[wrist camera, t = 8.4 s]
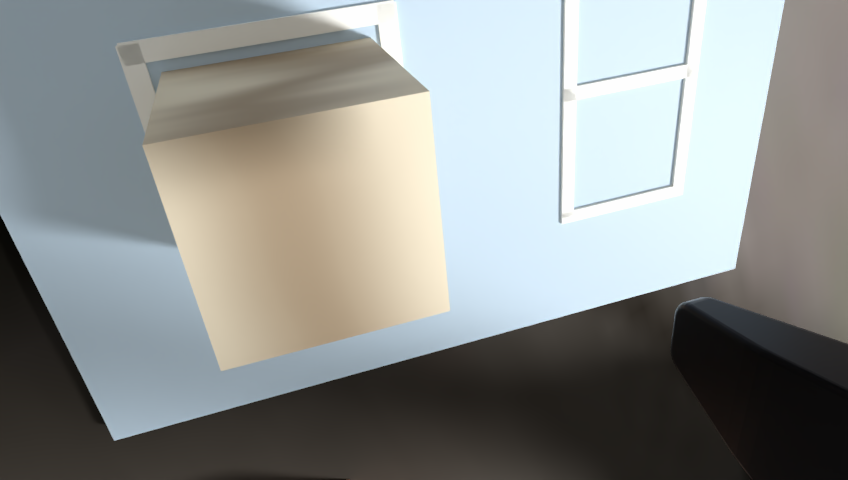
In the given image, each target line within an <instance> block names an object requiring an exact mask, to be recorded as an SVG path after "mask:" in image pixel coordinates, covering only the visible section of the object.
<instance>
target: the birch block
mask: <svg viewBox="0 0 848 480" xmlns="http://www.w3.org/2000/svg"><path fill="white" fill-rule="evenodd" d="M142 146H143V149H144V152H145V155H146V157H147V160H148V163H149V166H150V169H151V172H152V175H153V178H154V180H155V183H156V186H157V189H158V192H159V195H160V198H161V201H162V203H163V206H164V209H165V212H166V215H167V218H168V221H169V223H170V226H171V229H172V232H173V235H174V238H175V241H176V244H177V246H178V249H179V252H180V255H181V258H182V261H183V264H184V267H185V269H186V272H187V275H188V278H189V281H190V284H191V287H192V289H193V292H194V295H195V298H196V301H197V304H198V307H199V310H200V312H201V315H202V318H203V321H204V324H205V327H206V330H207V333H208V335H209V338H210V341H211V344H212V347H213V350H214V353H215V355H216V358H217V361H218V364H219V367H220V370H221V371H224V370H228V369H232V368H236V367H240V366H243V365H247V364H251V363H255V362H259V361H262V360H266V359H270V358H274V357H278V356H281V355H285V354H289V353H293V352H296V351H300V350H304V349H308V348H312V347H315V346H319V345H323V344H327V343H331V342H334V341H338V340H342V339H346V338H350V337H353V336H357V335H361V334H365V333H369V332H372V331H376V330H380V329H384V328H388V327H391V326H395V325H399V324H403V323H406V322H410V321H414V320H418V319H422V318H425V317H429V316H433V315H437V314H441V313H444V312H448V311H450V303H449V293H448V282H447V271H446V261H445V250H444V239H443V229H442V218H441V208H440V197H439V186H438V176H437V165H436V154H435V144H434V133H433V123H432V112H431V101H430V91H429V90H428V89H427V88H425V87H424V86H423V85H422V84H421V83H420V82H419V81H418V80H417V79H416V78H414V77H413V76H412V75H411V74H410V73H409V72H408V71H407V70H406V69H405V68H403V67H402V66H401V65H400V64H399V63H398V62H397V61H396V60H395V59H394V58H393V57H391V56H390V55H389V54H388V53H387V52H386V51H385V50H384V49H383V48H382V47H380V46H379V45H378V44H377V43H376V42H375V41H374V40H373V39H372V38H371V37H369V38H363V39H357V40H351V41H345V42H339V43H333V44H327V45H321V46H315V47H310V48H304V49H298V50H292V51H286V52H280V53H274V54H268V55H262V56H256V57H250V58H244V59H238V60H232V61H226V62H220V63H214V64H208V65H202V66H196V67H190V68H184V69H178V70H172V71H166V72H161V76H160V80H159V84H158V87H157V91H156V95H155V99H154V103H153V106H152V110H151V114H150V118H149V122H148V125H147V129H146V133H145V137H144V141H143V144H142Z"/></svg>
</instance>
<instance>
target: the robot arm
mask: <svg viewBox="0 0 848 480" xmlns="http://www.w3.org/2000/svg"><path fill="white" fill-rule="evenodd" d="M671 356H672V359H673V362H674V364H675V366H676V368H677V369H678V371H679V372H680V374H681V376H682V377H683V379H684V380H685V382H686V383H687V385H688V386H689V388H690V390H691V391H692V393H693V394H694V396H695V397H696V399H697V400H698V402H699V404H700V405H701V407H702V408H703V410H704V411H705V413H706V414H707V416H708V418H709V419H710V421H711V422H712V424H713V425H714V427H715V428H716V430H717V431H718V433H719V435H720V436H721V438H722V439H723V441H724V442H725V444H726V445H727V447H728V448H729V450H730V451H731V452H732V454H733V455H734V457H735V458H736V460H737V461H738V462H739V463H740V465H741V466H742V467H743V469H744V470H745V471H746V473H747V474H748V475H749V477H750V478H751V479H752V480H848V344H847V343H844V342H841V341H838V340H835V339H832V338H829V337H826V336H823V335H820V334H817V333H814V332H811V331H808V330H805V329H802V328H799V327H796V326H793V325H790V324H787V323H784V322H781V321H779V320H776V319H773V318H770V317H767V316H764V315H761V314H758V313H755V312H752V311H749V310H746V309H743V308H740V307H737V306H734V305H731V304H728V303H725V302H722V301H719V300H716V299H713V298H710V297H701V298H698V299H694V300H691V301H687V302H684V303H682V304H680V305H679V306H678V308H677V309H676V312H675V319H674V326H673V333H672V341H671Z"/></svg>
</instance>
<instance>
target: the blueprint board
mask: <svg viewBox="0 0 848 480" xmlns="http://www.w3.org/2000/svg"><path fill="white" fill-rule="evenodd" d="M784 1H785V0H0V215H1V217H2V219H3V221H4V223H5V225H6V227H7V229H8V231H9V233H10V235H11V237H12V239H13V241H14V243H15V245H16V247H17V249H18V251H19V253H20V255H21V257H22V259H23V261H24V263H25V265H26V267H27V269H28V271H29V273H30V275H31V277H32V279H33V281H34V283H35V285H36V287H37V289H38V291H39V293H40V295H41V297H42V299H43V301H44V303H45V305H46V306H47V308H48V310H49V312H50V314H51V316H52V318H53V320H54V322H55V324H56V326H57V328H58V330H59V332H60V334H61V336H62V338H63V340H64V342H65V344H66V346H67V348H68V350H69V352H70V354H71V356H72V358H73V360H74V362H75V364H76V366H77V368H78V370H79V372H80V374H81V376H82V378H83V380H84V382H85V384H86V386H87V388H88V390H89V392H90V394H91V396H92V398H93V400H94V402H95V404H96V406H97V407H98V409H99V411H100V413H101V415H102V417H103V419H104V421H105V423H106V425H107V427H108V429H109V431H110V433H111V435H112V437H113V439H114V441H115V440H119V439H122V438H126V437H130V436H133V435H137V434H140V433H144V432H148V431H151V430H155V429H158V428H162V427H166V426H169V425H173V424H176V423H180V422H184V421H187V420H191V419H195V418H198V417H202V416H205V415H209V414H213V413H216V412H220V411H223V410H227V409H231V408H234V407H238V406H241V405H245V404H249V403H252V402H256V401H259V400H263V399H267V398H270V397H274V396H277V395H281V394H285V393H288V392H292V391H295V390H299V389H303V388H306V387H310V386H313V385H317V384H321V383H324V382H328V381H331V380H335V379H339V378H342V377H346V376H349V375H353V374H357V373H360V372H364V371H367V370H371V369H375V368H378V367H382V366H386V365H389V364H393V363H396V362H400V361H404V360H407V359H411V358H414V357H418V356H422V355H425V354H429V353H432V352H436V351H440V350H443V349H447V348H450V347H454V346H458V345H461V344H465V343H468V342H472V341H476V340H479V339H483V338H486V337H490V336H494V335H497V334H501V333H504V332H508V331H512V330H515V329H519V328H522V327H526V326H530V325H533V324H537V323H540V322H544V321H548V320H551V319H555V318H559V317H562V316H566V315H569V314H573V313H577V312H580V311H584V310H587V309H591V308H595V307H598V306H602V305H605V304H609V303H613V302H616V301H620V300H623V299H627V298H631V297H634V296H638V295H641V294H645V293H649V292H652V291H656V290H659V289H663V288H667V287H670V286H674V285H677V284H681V283H685V282H688V281H692V280H695V279H699V278H703V277H706V276H710V275H713V274H717V273H721V272H724V271H728V270H731V269H735V266H736V260H737V255H738V249H739V244H740V239H741V233H742V228H743V222H744V217H745V212H746V206H747V201H748V195H749V190H750V185H751V179H752V174H753V168H754V163H755V158H756V152H757V147H758V142H759V136H760V131H761V125H762V120H763V115H764V109H765V104H766V98H767V93H768V88H769V82H770V77H771V71H772V66H773V61H774V55H775V50H776V44H777V39H778V34H779V28H780V23H781V17H782V12H783V7H784ZM369 37H371V38H372V39H373V40H374V41H375V42H376V43H377V44H378V45H379V46H380V47H382V48H383V49H384V50H385V51H386V52H387V53H388V54H389V55H390V56H391V57H393V58H394V59H395V60H396V61H397V62H398V63H399V64H400V65H401V66H402V67H403V68H405V69H406V70H407V71H408V72H409V73H410V74H411V75H412V76H413V77H414V78H416V79H417V80H418V81H419V82H420V83H421V84H422V85H423V86H424V87H425V88H427V89H428V90H429V91H430V101H431V112H432V123H433V133H434V144H435V154H436V165H437V176H438V186H439V197H440V208H441V218H442V229H443V239H444V250H445V261H446V271H447V282H448V293H449V303H450V311H448V312H444V313H441V314H437V315H433V316H429V317H425V318H422V319H418V320H414V321H410V322H406V323H403V324H399V325H395V326H391V327H388V328H384V329H380V330H376V331H372V332H369V333H365V334H361V335H357V336H353V337H350V338H346V339H342V340H338V341H334V342H331V343H327V344H323V345H319V346H315V347H312V348H308V349H304V350H300V351H296V352H293V353H289V354H285V355H281V356H278V357H274V358H270V359H266V360H262V361H259V362H255V363H251V364H247V365H243V366H240V367H236V368H232V369H228V370H224V371H221V370H220V367H219V364H218V361H217V358H216V355H215V353H214V350H213V347H212V344H211V341H210V338H209V335H208V333H207V330H206V327H205V324H204V321H203V318H202V315H201V312H200V310H199V307H198V304H197V301H196V298H195V295H194V292H193V289H192V287H191V284H190V281H189V278H188V275H187V272H186V269H185V267H184V264H183V261H182V258H181V255H180V252H179V249H178V246H177V244H176V241H175V238H174V235H173V232H172V229H171V226H170V223H169V221H168V218H167V215H166V212H165V209H164V206H163V203H162V201H161V198H160V195H159V192H158V189H157V186H156V183H155V180H154V178H153V175H152V172H151V169H150V166H149V163H148V160H147V157H146V155H145V152H144V149H143V146H142V144H143V141H144V137H145V133H146V129H147V125H148V122H149V118H150V114H151V110H152V106H153V103H154V99H155V95H156V91H157V87H158V84H159V80H160V76H161V72H166V71H172V70H178V69H184V68H190V67H196V66H202V65H208V64H214V63H220V62H226V61H232V60H238V59H244V58H250V57H256V56H262V55H268V54H274V53H280V52H286V51H292V50H298V49H304V48H310V47H315V46H321V45H327V44H333V43H339V42H345V41H351V40H357V39H363V38H369Z"/></svg>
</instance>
